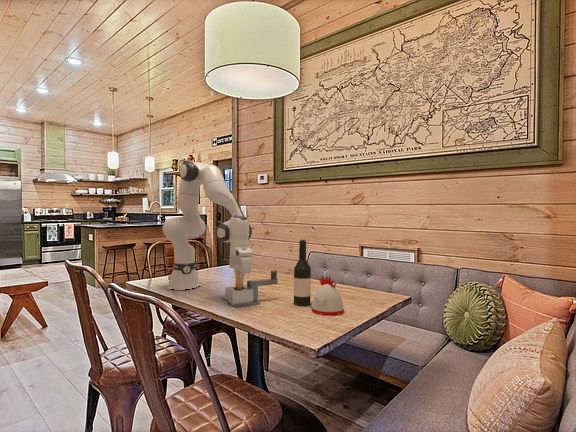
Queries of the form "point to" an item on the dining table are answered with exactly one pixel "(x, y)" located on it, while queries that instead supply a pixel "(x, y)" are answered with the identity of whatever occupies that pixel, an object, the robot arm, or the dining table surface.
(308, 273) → the wine bottle
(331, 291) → the kitchen timer
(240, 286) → the orange rounded cylinder
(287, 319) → the dining table surface
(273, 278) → the crank handle
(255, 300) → the mount
